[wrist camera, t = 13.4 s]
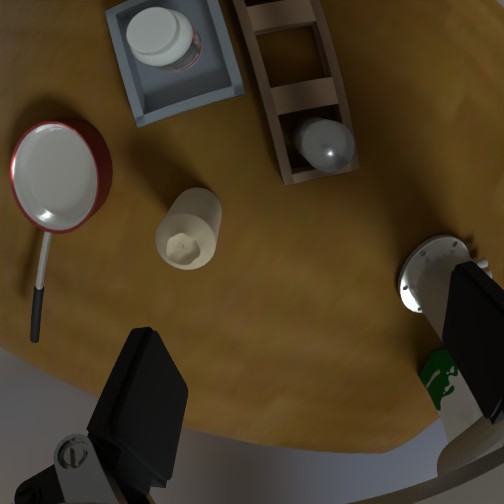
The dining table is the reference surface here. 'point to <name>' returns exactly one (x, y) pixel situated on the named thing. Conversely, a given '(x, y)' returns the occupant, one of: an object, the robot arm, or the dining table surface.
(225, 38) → the tray
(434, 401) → the milk carton
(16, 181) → the frying pan
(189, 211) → the candle
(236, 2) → the socket rack
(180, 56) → the pill bottle
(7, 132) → the dining table surface
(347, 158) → the peg
